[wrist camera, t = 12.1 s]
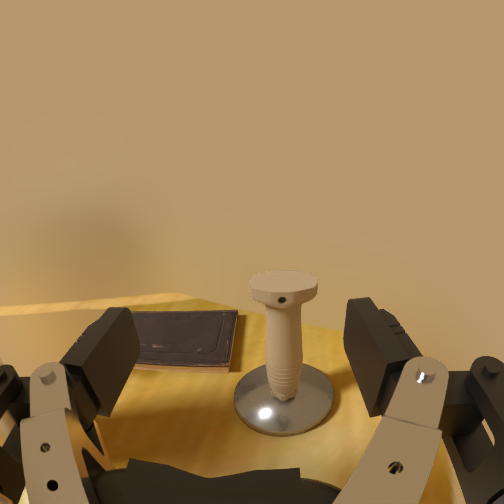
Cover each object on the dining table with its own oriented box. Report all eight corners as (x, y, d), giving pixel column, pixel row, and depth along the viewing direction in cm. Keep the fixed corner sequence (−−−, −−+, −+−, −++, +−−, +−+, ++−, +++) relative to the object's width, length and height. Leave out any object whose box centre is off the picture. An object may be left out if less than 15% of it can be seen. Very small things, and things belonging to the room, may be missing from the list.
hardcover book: (230, 377, 37) (228, 365, 36) (92, 367, 38) (87, 356, 38) (238, 318, 52) (237, 307, 51) (127, 319, 54) (125, 309, 53)
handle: (259, 379, 34) (251, 270, 29) (310, 379, 33) (315, 269, 28) (254, 406, 29) (244, 292, 25) (311, 407, 28) (320, 291, 24)
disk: (214, 408, 31) (213, 402, 30) (271, 358, 40) (270, 351, 39) (300, 452, 24) (301, 446, 23) (347, 384, 32) (348, 377, 32)
